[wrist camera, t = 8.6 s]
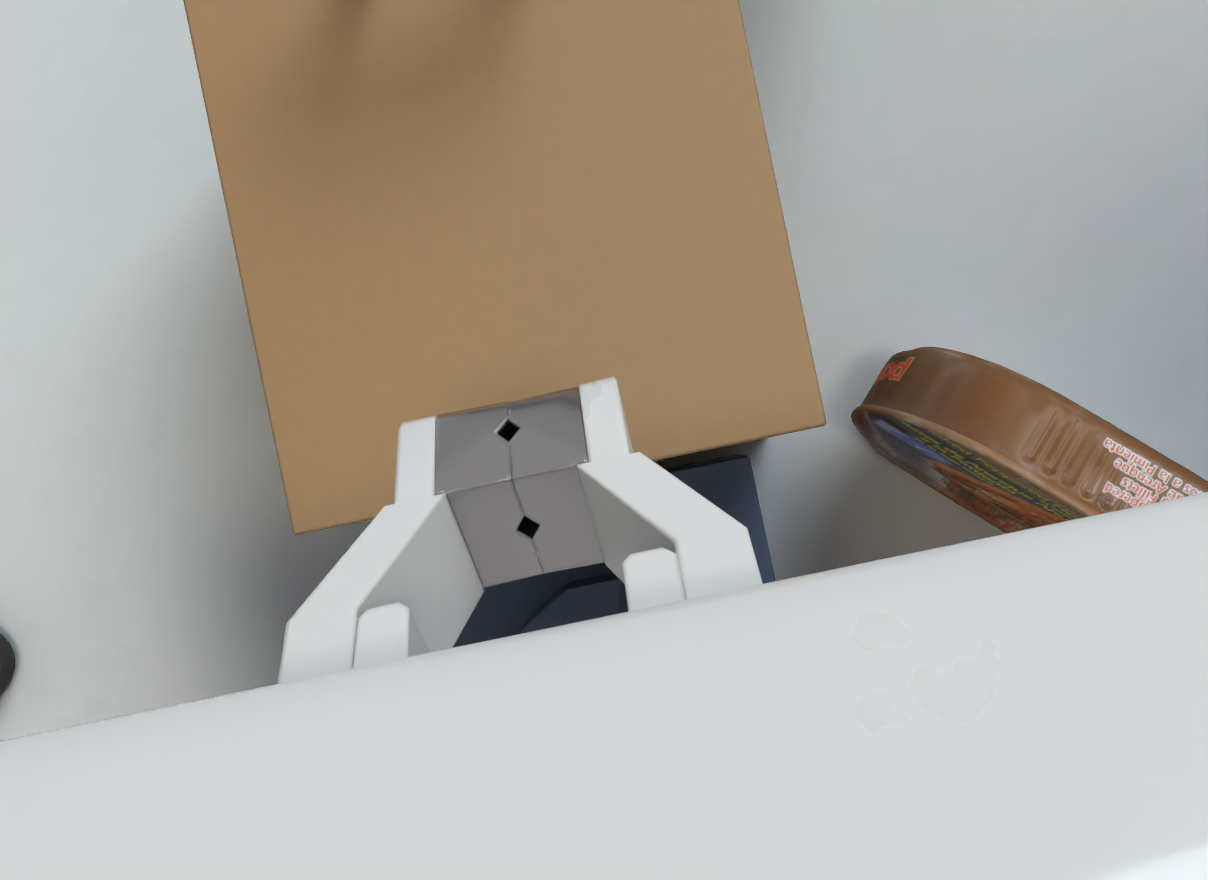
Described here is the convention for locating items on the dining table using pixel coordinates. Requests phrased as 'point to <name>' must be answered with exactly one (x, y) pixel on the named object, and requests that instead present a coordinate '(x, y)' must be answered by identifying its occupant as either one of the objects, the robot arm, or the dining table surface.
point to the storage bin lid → (499, 223)
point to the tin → (1009, 443)
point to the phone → (5, 662)
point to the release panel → (597, 585)
